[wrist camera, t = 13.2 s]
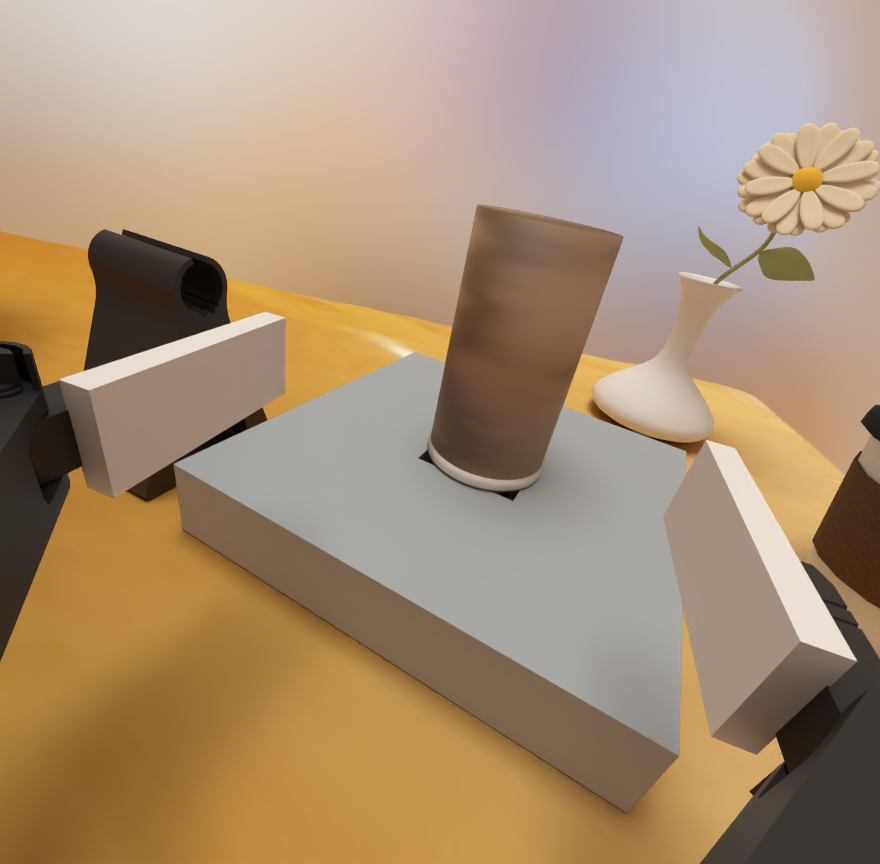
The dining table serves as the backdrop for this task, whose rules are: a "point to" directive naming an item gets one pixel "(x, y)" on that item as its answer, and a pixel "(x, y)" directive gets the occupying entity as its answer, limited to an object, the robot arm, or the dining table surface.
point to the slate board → (471, 566)
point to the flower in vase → (768, 201)
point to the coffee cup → (855, 536)
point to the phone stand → (154, 313)
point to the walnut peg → (516, 344)
